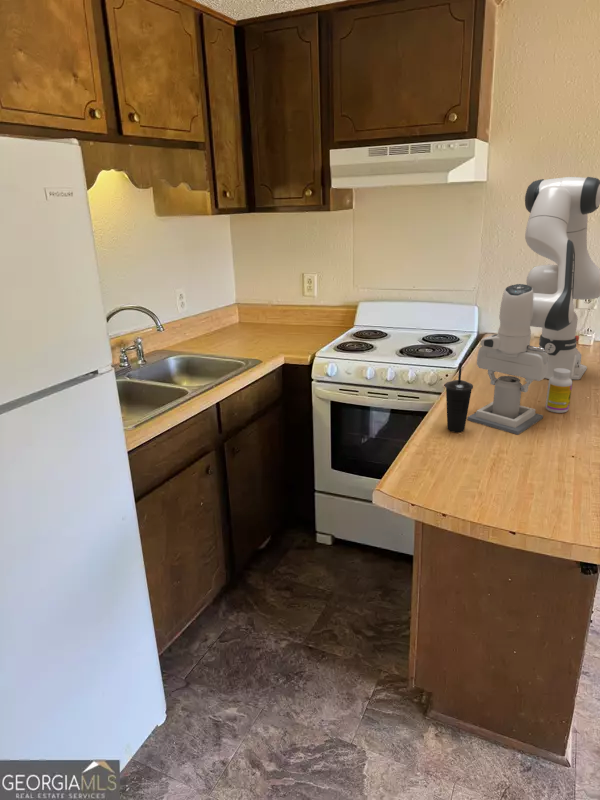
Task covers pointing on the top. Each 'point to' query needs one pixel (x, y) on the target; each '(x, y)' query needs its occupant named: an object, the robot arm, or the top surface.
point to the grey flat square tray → (506, 419)
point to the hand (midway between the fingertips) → (508, 387)
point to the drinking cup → (457, 403)
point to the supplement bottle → (559, 391)
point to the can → (507, 397)
